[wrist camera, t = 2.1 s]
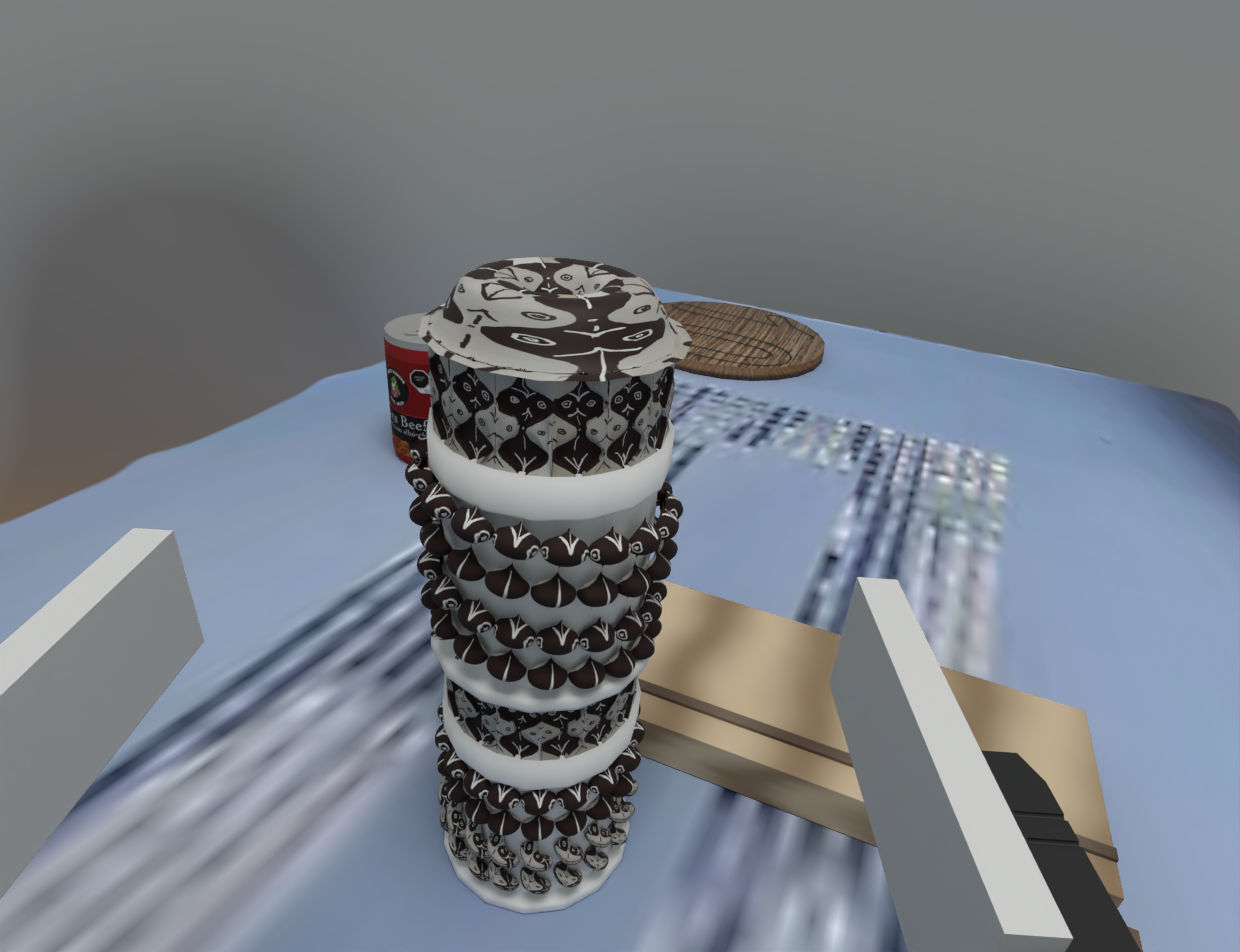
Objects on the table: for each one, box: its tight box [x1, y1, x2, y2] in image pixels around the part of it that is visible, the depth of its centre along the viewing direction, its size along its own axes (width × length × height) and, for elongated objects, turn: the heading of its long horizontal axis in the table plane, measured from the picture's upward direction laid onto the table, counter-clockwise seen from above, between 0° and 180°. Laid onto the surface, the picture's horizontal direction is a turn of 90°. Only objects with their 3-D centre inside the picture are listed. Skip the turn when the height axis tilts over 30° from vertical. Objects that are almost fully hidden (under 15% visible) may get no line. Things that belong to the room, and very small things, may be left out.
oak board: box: [635, 580, 1124, 908], centre depth 39 cm, size 28×11×3 cm, turn 68°
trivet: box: [662, 302, 824, 381], centre depth 94 cm, size 25×25×2 cm
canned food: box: [384, 313, 431, 468], centre depth 61 cm, size 8×8×11 cm
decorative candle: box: [405, 257, 693, 914], centre depth 27 cm, size 9×9×25 cm
